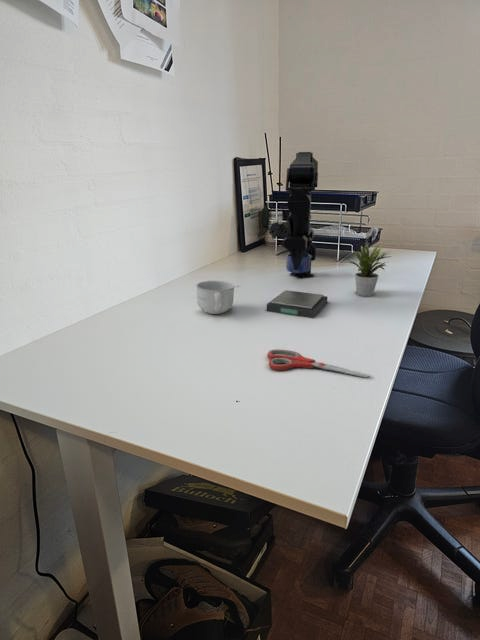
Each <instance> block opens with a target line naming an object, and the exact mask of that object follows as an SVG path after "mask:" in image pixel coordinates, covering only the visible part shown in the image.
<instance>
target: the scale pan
mask: <svg viewBox="0 0 480 640" xmlns="http://www.w3.org/2000/svg"><path fill="white" fill-rule="evenodd" d="M282 292H283V293H282ZM282 292H281V293H282V294H281V293H280V294H278V295H279V296H278V295H277V296H278V297H277V296H276V297H277V298H276V297H274V298H275V299H274V298H273V299H274V300H273V299H272V300H273V301H272V300H271V301H270V302H271V303H273V304H280V305H287V306H294V307H301V308H308V309H312V308H313V307H314V306H315V305H316V304H317V303H318V302H319V301H320V300H321V299H322V298H323V297H324V296H325V295H324V294H320V293H313V292H312V293H311V292H304V291H296V290H288V289H286V290H284V291H282Z"/></svg>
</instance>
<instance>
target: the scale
mask: <svg viewBox="0 0 480 640" xmlns="http://www.w3.org/2000/svg"><path fill="white" fill-rule="evenodd" d="M283 292H284V291H282V292H281V293H280V294H282V293H283ZM280 294H278V295H277V296H276V297H274V298H273V299H272V300H271V301H273V300H274V299H275V298H277V297H278V296H279V295H280ZM328 298H329V296H327V295H324V297H323V298H322V299H321V300H320V301H319V302H318V303H317V304H316V305H315V306H314V307H313V308H312V309H308V308H301V307H294V306H287V305H280V304H273V303H271V301H269V302H268V303H266V312H272V313H279V314H284V315H285V314H286V315H292V316H299V317H305V318H311V319H312V318H313V319H314V318H315V317H316V316H317V315H318V314H319V312H320V311H322V309H323V308H324V307H325V306H326V305H327V304H328Z"/></svg>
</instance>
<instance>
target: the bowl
mask: <svg viewBox="0 0 480 640" xmlns="http://www.w3.org/2000/svg"><path fill="white" fill-rule="evenodd" d="M310 257H311V255H309V254H306V253H305V254H304V256H303V259H302V261H301V264H300V266H299V269H298V270H294V267H293V263H292V258H291V254H290V253H287V254H286V256H285V269H286V271H287V272H288V273H305V272H308V271H309V270H310Z"/></svg>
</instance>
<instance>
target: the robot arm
mask: <svg viewBox="0 0 480 640" xmlns="http://www.w3.org/2000/svg"><path fill="white" fill-rule="evenodd" d="M318 169H319V162H318V160H316V159H315V158H314V153H313V152H311V151H299V152H296V155H295V158H294V160H292V162H291V163H290V165H289V167H288V168H287V169H286V177H285V178H286V181H285V191H289V192H291V193H290V195H289V198H288V199H287V209H288V211H289V215H288V216H287V217H286V220H285V221H283V222H280V223H279V222H278V221H275V222H273V223H271V224H270V227H268V234H269V235H270V236H271V239H277V237H280V236H282V235H285V234H286V236H285V237H284V238H282V240H281V241H282V243H281V245H282V246H281V247H282V248H284V250H286V251H288V252H289V254H291V258H292V263H293V267H294V270H298V269H299V266H300V264H301V261H302V259H303V256H304V254H305V253H306V254H309V255H311V257H310V270H309V271H308V272H305V273H292V272H289V275H290V276H293V277H295V278H297V279H302V278H308V277H309V278H310V277H313V276H314V274H313V273H312V262H314V261H316V255H317V254H316V253H317V252H316V251H317V248H316V247H315V244H314V243H313V239H314V238H315V230H314V229H312V228H311V220H312V214H311V211H312V210H311V209H312V194H311V192H312V191H316V188H318V184H319V183H318V181H319V180H318V179H319V172H318Z"/></svg>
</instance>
